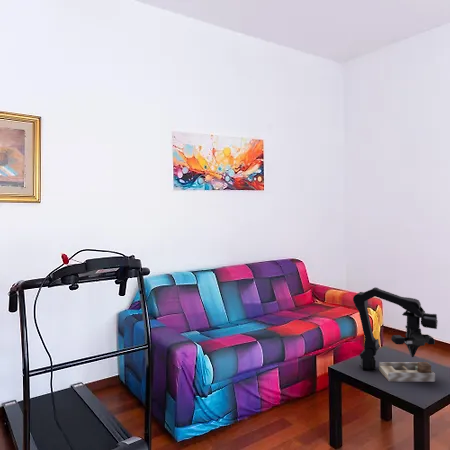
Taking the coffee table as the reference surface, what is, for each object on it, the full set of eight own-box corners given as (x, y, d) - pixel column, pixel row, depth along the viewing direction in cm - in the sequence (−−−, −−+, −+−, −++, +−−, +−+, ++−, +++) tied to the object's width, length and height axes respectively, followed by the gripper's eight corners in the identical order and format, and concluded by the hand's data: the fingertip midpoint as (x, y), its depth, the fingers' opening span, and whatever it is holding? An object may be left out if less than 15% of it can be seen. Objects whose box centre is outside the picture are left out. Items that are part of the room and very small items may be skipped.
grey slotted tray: (388, 381, 192) (389, 373, 192) (378, 369, 205) (378, 362, 205) (434, 381, 192) (435, 373, 191) (421, 370, 205) (422, 362, 204)
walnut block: (421, 374, 193) (421, 365, 193) (417, 370, 198) (417, 362, 197) (431, 374, 193) (431, 365, 193) (426, 370, 198) (426, 362, 197)
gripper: (400, 330, 186) (400, 363, 187) (441, 330, 186) (440, 363, 187) (391, 323, 197) (390, 354, 198) (429, 323, 197) (428, 354, 198)
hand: (412, 356), depth 195 cm, fingers closed
